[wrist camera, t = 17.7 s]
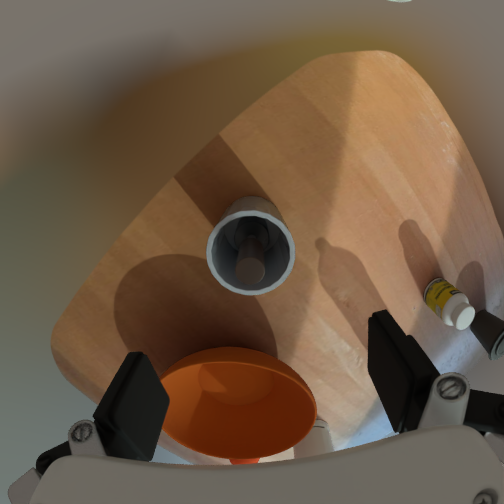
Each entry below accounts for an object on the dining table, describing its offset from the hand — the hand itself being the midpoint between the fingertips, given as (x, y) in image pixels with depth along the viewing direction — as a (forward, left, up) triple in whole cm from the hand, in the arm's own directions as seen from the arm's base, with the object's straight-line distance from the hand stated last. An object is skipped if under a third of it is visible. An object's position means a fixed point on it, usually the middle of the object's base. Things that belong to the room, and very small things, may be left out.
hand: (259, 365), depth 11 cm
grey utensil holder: (0, -1, -28) cm, 28 cm away
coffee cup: (+50, +9, -28) cm, 58 cm away
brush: (0, -1, -27) cm, 27 cm away
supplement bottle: (+32, +7, -28) cm, 43 cm away
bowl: (+12, -25, -28) cm, 39 cm away
